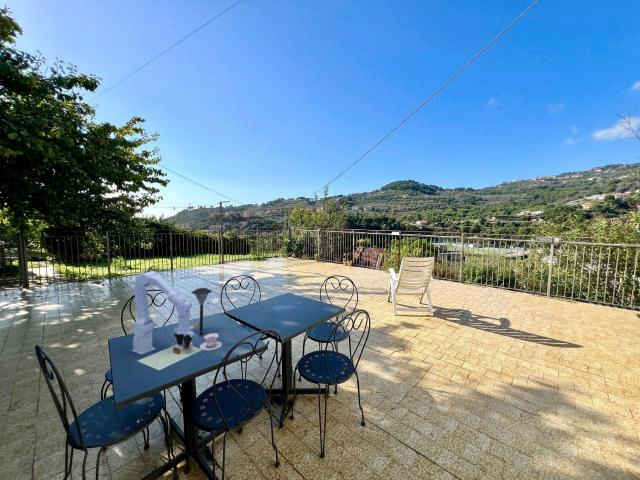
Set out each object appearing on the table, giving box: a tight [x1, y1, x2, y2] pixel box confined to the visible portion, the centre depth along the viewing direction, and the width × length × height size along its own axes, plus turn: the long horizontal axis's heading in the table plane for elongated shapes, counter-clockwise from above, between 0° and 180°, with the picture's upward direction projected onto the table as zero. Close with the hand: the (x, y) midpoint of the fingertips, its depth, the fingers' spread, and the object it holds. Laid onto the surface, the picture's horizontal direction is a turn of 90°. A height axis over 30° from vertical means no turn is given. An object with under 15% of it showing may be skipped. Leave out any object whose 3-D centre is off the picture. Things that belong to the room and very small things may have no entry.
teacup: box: [199, 332, 222, 352], centre depth 155 cm, size 12×12×6 cm
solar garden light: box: [191, 287, 213, 337], centre depth 169 cm, size 12×12×30 cm
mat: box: [137, 343, 203, 371], centre depth 142 cm, size 18×25×1 cm
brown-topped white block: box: [173, 341, 194, 355], centre depth 147 cm, size 9×4×3 cm, turn 154°
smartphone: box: [190, 322, 200, 331], centre depth 182 cm, size 7×1×15 cm
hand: (183, 346), depth 147 cm, fingers open, 5 cm apart
